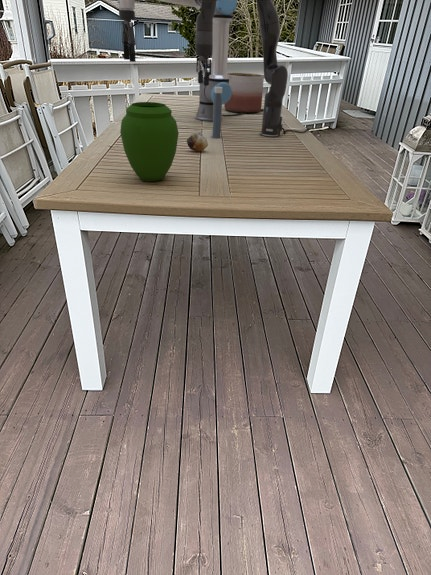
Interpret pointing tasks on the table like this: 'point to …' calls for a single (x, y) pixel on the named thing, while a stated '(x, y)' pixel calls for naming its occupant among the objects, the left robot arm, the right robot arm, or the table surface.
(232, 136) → the table surface
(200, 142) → the seashell
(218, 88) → the cap
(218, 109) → the bottle
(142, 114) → the vase
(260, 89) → the planter
